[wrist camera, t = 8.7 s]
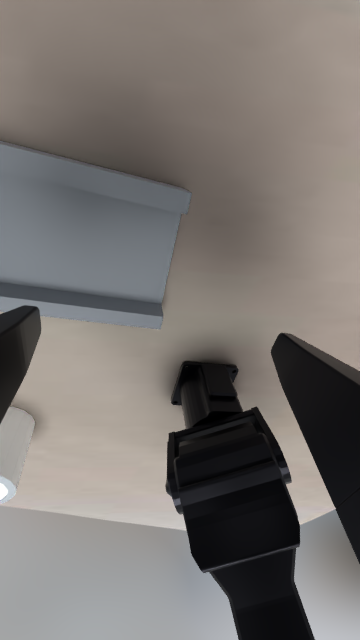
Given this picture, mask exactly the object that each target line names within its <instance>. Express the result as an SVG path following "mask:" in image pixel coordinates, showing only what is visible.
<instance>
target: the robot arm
mask: <svg viewBox="0 0 360 640" xmlns="http://www.w3.org/2000/svg"><path fill="white" fill-rule="evenodd" d="M40 334H41V320H40V310H39V308H38V307H37V306H29V305H23V306H20V307H18V308H15V309H13V310H10V311H8V312H5V313H2V314H0V424H1V422H2V420H3V418H4V416H5V414H6V412H7V410H8V408H9V406H10V404H11V402H12V401H13V399H14V397H15V395H16V393H17V391H18V389H19V387H20V385H21V383H22V381H23V379H24V377H25V375H26V373H27V370H28V368H29V365H30V362H31V359H32V356H33V354H34V351H35V348H36V345H37V342H38V340H39V337H40ZM271 355H272V358H273V361H274V364H275V367H276V370H277V374H278V377H279V380H280V383H281V385H282V388H283V390H284V393H285V395H286V397H287V400H288V402H289V404H290V406H291V409H292V411H293V413H294V415H295V418H296V420H297V422H298V424H299V427H300V429H301V431H302V434H303V436H304V438H305V440H306V443H307V445H308V447H309V449H310V452H311V454H312V456H313V459H314V461H315V463H316V465H317V468H318V470H319V472H320V474H321V477H322V479H323V481H324V483H325V486H326V488H327V490H328V493H329V495H330V497H331V499H332V502H333V504H334V506H335V508H336V511H337V513H338V516H339V518H340V520H341V523H342V525H343V527H344V529H345V531H346V534H347V536H348V538H349V541H350V543H351V545H352V548H353V550H354V552H355V554H356V557H357V559H358V561H359V564H360V371H358V370H356V369H355V368H353V367H351V366H349V365H347V364H345V363H343V362H342V361H340V360H338V359H336V358H334V357H332V356H331V355H329V354H327V353H325V352H323V351H321V350H320V349H318V348H316V347H314V346H312V345H310V344H308V343H307V342H305V341H303V340H301V339H299V338H297V337H296V336H294V335H292V334H288V333H280V334H279V335H278V337H277V339H276V341H275V343H274V345H273V347H272V349H271ZM186 366H188V367H186ZM237 373H238V368H237V367H236V366H232V365H220V364H208V363H196V362H184V363H183V364H182V366H181V369H180V372H179V375H178V379H177V382H176V385H175V388H174V391H173V395H172V398H171V403H172V404H173V405H182V409H183V415H184V420H185V426H186V429H185V430H181V431H178V432H171V433H169V441H168V446H167V480H166V492H167V493H168V494H169V495H170V496H171V497H172V499H173V502H174V505H175V507H176V510H177V512H178V513H179V514H183V515H184V520H185V524H186V529H187V533H188V537H189V543H190V549H191V554H192V556H193V558H194V560H195V561H196V563H197V565H198V566H199V568H200V570H201V571H202V572H203V573H206V572H210V574H211V575H212V576H213V578H214V579H215V580H216V582H217V583H218V584H219V586H220V587H221V588H222V590H223V591H224V592H225V594H226V595H227V597H228V599H229V602H230V606H231V610H232V613H233V618H234V622H235V626H236V630H237V635H238V639H239V640H315V639H314V636H313V634H312V630H311V628H310V625H309V622H308V619H307V616H306V614H305V611H304V608H303V605H302V602H301V599H300V596H299V594H298V591H297V588H296V585H295V582H294V569H295V568H294V567H295V554H296V548H297V547H299V545H300V524H299V521H298V516H297V513H296V510H295V508H294V505H293V502H292V500H291V497H290V494H289V492H288V489H287V487H286V484H288V483H291V475H290V472H289V469H288V466H287V463H286V460H285V458H284V455H283V453H282V451H281V449H280V446H279V444H278V442H277V440H276V439H275V437H274V435H273V433H272V432H271V430H270V428H269V427H268V425H267V423H266V421H265V420H264V418H263V416H262V415H261V413H260V411H259V409H258V408H257V407H254V408H251V410H248V411H244V412H243V410H242V407H241V405H240V402H239V400H238V398H237V392H236V390H235V388H234V385H233V382H234V380H235V377H236V375H237Z"/></svg>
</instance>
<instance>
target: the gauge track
mask: <svg viewBox="0 0 360 640" xmlns="http://www.w3.org/2000/svg"><path fill="white" fill-rule="evenodd" d="M191 195H192V193H191V192H189V191H188V190H186V189H184V188H181V187H177V186H173V185H169V184H166V183H162V182H158V181H154V180H150V179H146V178H142V177H139V176H135V175H131V174H127V173H123V172H119V171H115V170H112V169H108V168H104V167H100V166H96V165H92V164H88V163H85V162H81V161H77V160H73V159H69V158H65V157H61V156H58V155H54V154H50V153H46V152H42V151H38V150H34V149H31V148H27V147H23V146H19V145H15V144H11V143H7V142H4V141H0V311H1V312H8V311H10V310H13V309H15V308H18V307H20V306H23V305H29V306H37V307H38V308H39V310H40V316H45V317H54V318H63V319H72V320H81V321H90V322H99V323H107V324H116V325H125V326H134V327H143V328H152V329H161V325H162V321H163V312H162V305H161V304H162V299H163V295H164V290H165V286H166V281H167V277H168V272H169V268H170V263H171V259H172V254H173V249H174V245H175V240H176V236H177V231H178V227H179V222H180V218H181V213H183V214H187V213H188V208H189V204H190V200H191Z"/></svg>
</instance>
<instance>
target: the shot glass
mask: <svg viewBox="0 0 360 640" xmlns="http://www.w3.org/2000/svg"><path fill="white" fill-rule="evenodd" d="M34 426H35V421H34V419H33V417H32V416H31V415H30V414H29V413H27V412H26V411H24V410H21V409H19V408H16V407H10V406H9V408H8V410H7V412H6V414H5V416H4V418H3V420H2V422H1V424H0V504H1V503H4V502H6V501H9V500H10V499H11V498H12V497H13V496H14V495H15V494H16V490H17V487H18V483H19V480H20V476H21V472H22V469H23V465H24V462H25V458H26V455H27V451H28V448H29V444H30V441H31V437H32V434H33V430H34Z"/></svg>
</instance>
